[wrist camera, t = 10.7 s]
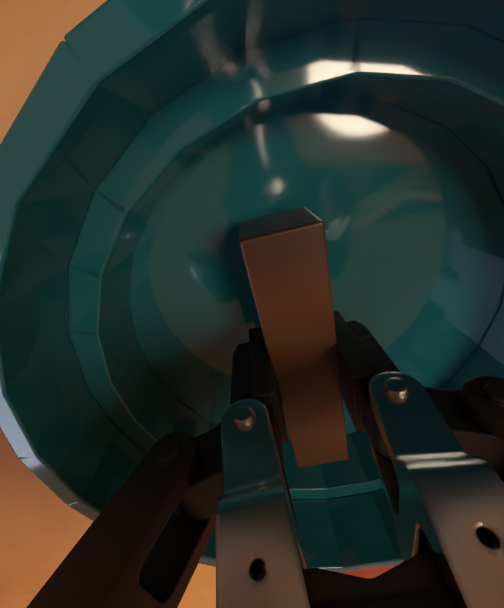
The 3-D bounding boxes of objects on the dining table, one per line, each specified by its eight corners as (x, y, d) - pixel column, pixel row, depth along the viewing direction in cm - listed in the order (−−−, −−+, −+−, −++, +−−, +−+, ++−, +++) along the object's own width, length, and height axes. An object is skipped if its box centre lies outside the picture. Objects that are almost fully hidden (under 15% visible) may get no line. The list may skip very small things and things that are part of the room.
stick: (239, 222, 9) (238, 241, 7) (305, 205, 9) (324, 219, 7) (289, 420, 14) (297, 469, 11) (332, 412, 13) (349, 460, 11)
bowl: (-7, 134, 9) (-366, 95, 4) (616, -43, 8) (1511, -531, 2) (186, 467, 18) (162, 597, 13) (488, 416, 16) (606, 538, 11)
